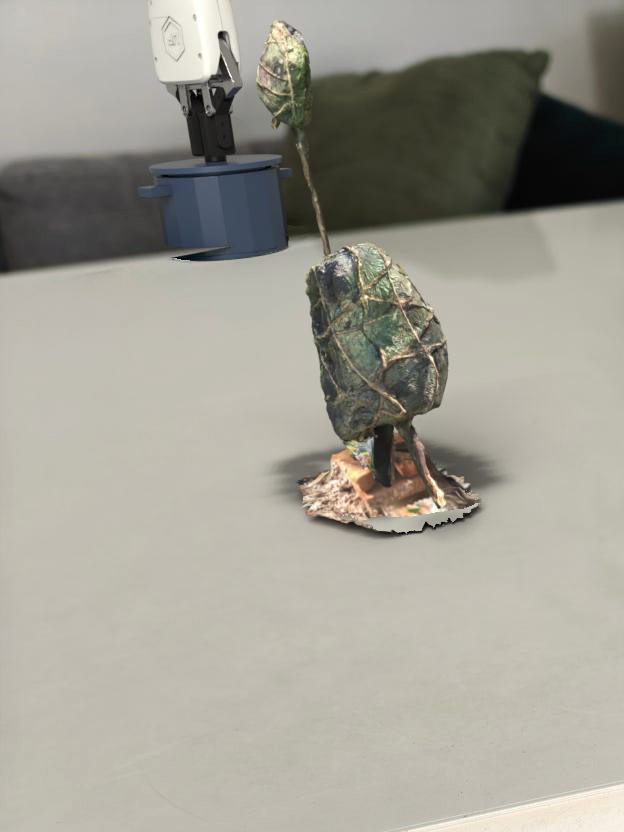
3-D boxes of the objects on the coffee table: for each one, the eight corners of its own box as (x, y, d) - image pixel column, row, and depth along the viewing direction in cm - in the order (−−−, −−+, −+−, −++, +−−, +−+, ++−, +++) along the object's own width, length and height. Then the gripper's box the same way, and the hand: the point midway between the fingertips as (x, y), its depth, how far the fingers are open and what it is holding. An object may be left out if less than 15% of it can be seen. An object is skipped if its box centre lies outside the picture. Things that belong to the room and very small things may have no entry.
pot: (124, 260, 127) (108, 179, 123) (260, 235, 139) (249, 160, 135) (192, 269, 118) (177, 182, 114) (331, 241, 130) (321, 162, 126)
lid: (125, 179, 125) (113, 118, 122) (232, 164, 134) (224, 107, 131) (200, 182, 116) (189, 116, 113) (310, 166, 125) (303, 104, 122)
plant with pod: (314, 573, 46) (235, 14, 37) (292, 484, 56) (226, 25, 46) (506, 545, 47) (477, -1, 38) (452, 463, 57) (419, 14, 48)
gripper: (110, -32, 118) (145, 158, 127) (197, -48, 108) (229, 159, 117) (171, -32, 123) (201, 151, 131) (260, -47, 113) (286, 152, 121)
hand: (214, 153), depth 124 cm, fingers closed on lid, 2 cm apart
